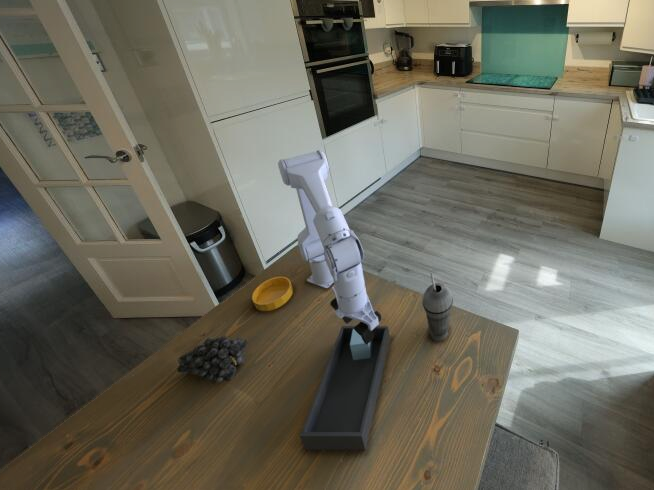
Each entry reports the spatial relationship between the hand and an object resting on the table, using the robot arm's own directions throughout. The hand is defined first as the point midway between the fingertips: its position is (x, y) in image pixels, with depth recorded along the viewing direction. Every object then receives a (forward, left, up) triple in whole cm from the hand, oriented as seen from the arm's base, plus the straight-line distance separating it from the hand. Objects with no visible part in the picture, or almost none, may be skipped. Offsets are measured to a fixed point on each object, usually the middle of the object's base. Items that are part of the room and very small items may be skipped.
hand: (359, 330), depth 71 cm
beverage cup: (-11, +15, -8) cm, 20 cm away
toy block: (0, 0, -7) cm, 7 cm away
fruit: (+15, -29, -8) cm, 34 cm away
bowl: (-3, -33, -8) cm, 34 cm away
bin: (+7, +3, -8) cm, 11 cm away
